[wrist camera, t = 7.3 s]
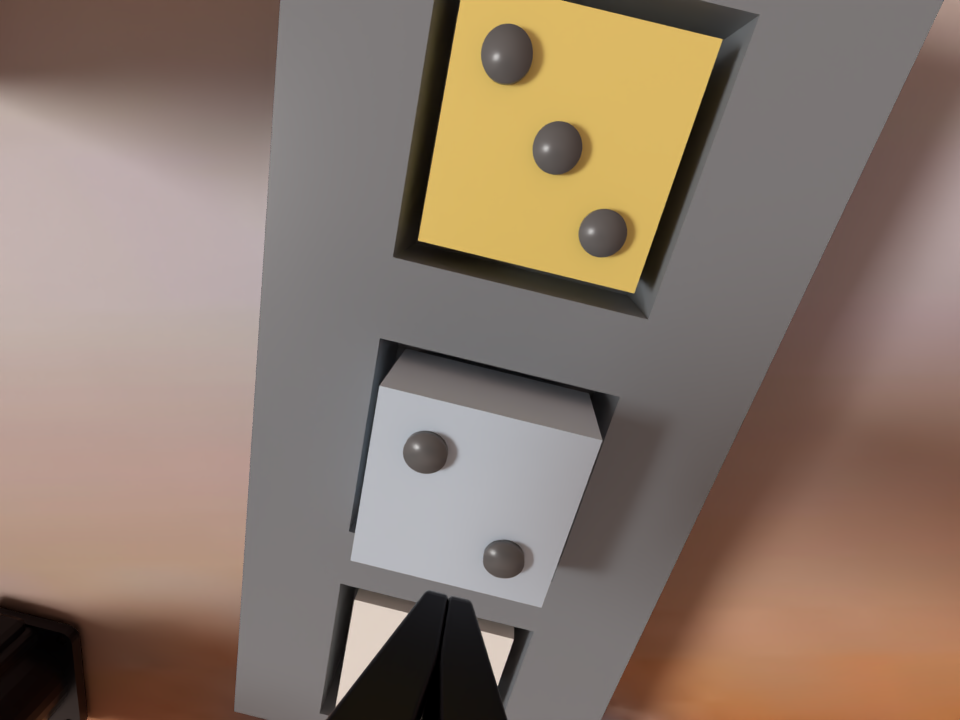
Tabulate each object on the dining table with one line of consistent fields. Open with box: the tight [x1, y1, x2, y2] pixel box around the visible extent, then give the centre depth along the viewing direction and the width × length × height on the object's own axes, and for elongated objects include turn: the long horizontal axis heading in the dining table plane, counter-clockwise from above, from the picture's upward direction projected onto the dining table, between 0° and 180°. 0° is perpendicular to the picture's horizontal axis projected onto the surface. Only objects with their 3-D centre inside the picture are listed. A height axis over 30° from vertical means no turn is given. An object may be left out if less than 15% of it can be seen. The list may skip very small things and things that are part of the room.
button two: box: [351, 349, 602, 608], centre depth 13 cm, size 5×5×3 cm
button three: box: [418, 0, 723, 293], centre depth 11 cm, size 5×5×3 cm
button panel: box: [234, 0, 944, 720], centre depth 15 cm, size 24×12×4 cm, turn 167°
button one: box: [336, 588, 514, 706], centre depth 17 cm, size 5×5×3 cm
